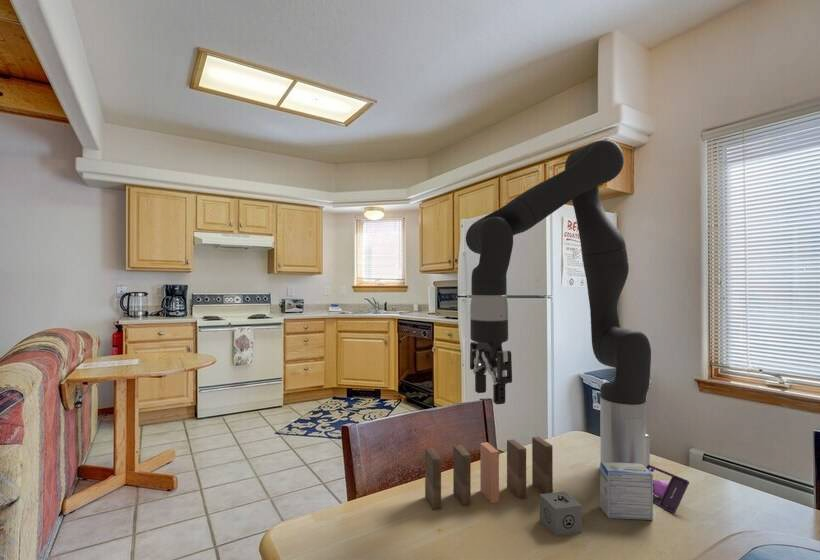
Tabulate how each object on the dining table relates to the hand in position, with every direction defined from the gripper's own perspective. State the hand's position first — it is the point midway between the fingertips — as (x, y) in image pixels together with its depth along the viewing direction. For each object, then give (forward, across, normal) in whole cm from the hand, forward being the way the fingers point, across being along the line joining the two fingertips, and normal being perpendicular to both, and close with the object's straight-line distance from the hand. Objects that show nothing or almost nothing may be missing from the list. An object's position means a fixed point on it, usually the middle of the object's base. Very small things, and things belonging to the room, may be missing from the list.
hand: (489, 397), depth 83 cm
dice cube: (+20, -13, -7) cm, 25 cm away
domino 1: (+20, 0, +12) cm, 23 cm away
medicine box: (+20, -12, -22) cm, 32 cm away
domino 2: (+20, 0, +6) cm, 21 cm away
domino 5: (+20, 0, -12) cm, 23 cm away
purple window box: (+18, -14, -34) cm, 41 cm away
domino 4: (+20, 0, -6) cm, 21 cm away
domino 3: (+20, 0, 0) cm, 20 cm away
